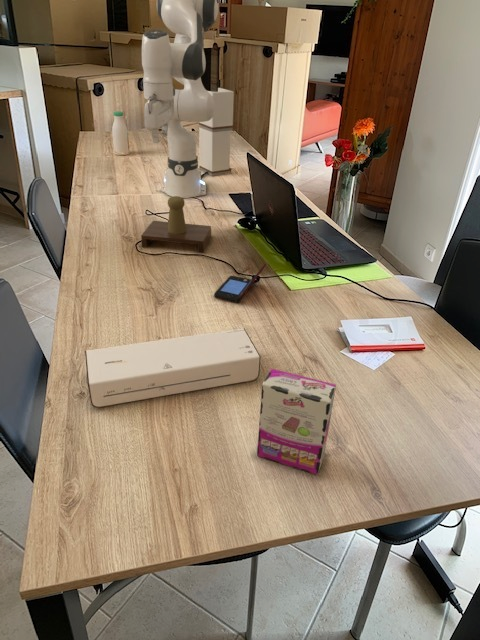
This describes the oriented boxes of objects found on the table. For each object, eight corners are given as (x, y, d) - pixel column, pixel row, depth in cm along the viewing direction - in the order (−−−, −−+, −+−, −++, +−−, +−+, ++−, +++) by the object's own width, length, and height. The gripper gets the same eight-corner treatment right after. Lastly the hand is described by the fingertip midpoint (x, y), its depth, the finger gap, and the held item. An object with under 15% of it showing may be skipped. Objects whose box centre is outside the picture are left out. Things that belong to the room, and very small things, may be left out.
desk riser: (153, 231, 168) (153, 220, 166) (211, 237, 166) (211, 225, 164) (141, 247, 157) (141, 235, 155) (203, 253, 155) (203, 241, 153)
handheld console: (230, 278, 141) (231, 254, 137) (265, 286, 138) (267, 262, 134) (212, 298, 131) (212, 273, 127) (250, 307, 128) (251, 282, 124)
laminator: (91, 409, 94) (87, 384, 91) (88, 370, 104) (84, 346, 100) (259, 380, 103) (260, 356, 100) (241, 347, 113) (242, 324, 110)
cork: (183, 234, 156) (182, 201, 150) (165, 232, 157) (163, 199, 151) (188, 228, 161) (188, 195, 155) (171, 225, 162) (169, 193, 156)
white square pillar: (231, 173, 230) (233, 91, 211) (212, 176, 225) (212, 92, 206) (218, 167, 238) (219, 87, 219) (199, 169, 232) (198, 88, 213)
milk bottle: (127, 156, 248) (124, 113, 237) (112, 155, 248) (108, 113, 237) (131, 152, 255) (127, 110, 244) (116, 151, 255) (112, 110, 244)
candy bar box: (324, 455, 87) (338, 383, 78) (318, 476, 83) (331, 403, 74) (264, 437, 90) (271, 366, 81) (255, 456, 86) (261, 384, 77)
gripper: (158, 98, 141) (161, 147, 148) (176, 88, 158) (178, 133, 165) (137, 96, 142) (140, 146, 149) (157, 87, 159) (159, 132, 166)
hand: (160, 139), depth 157 cm, fingers open, 8 cm apart
